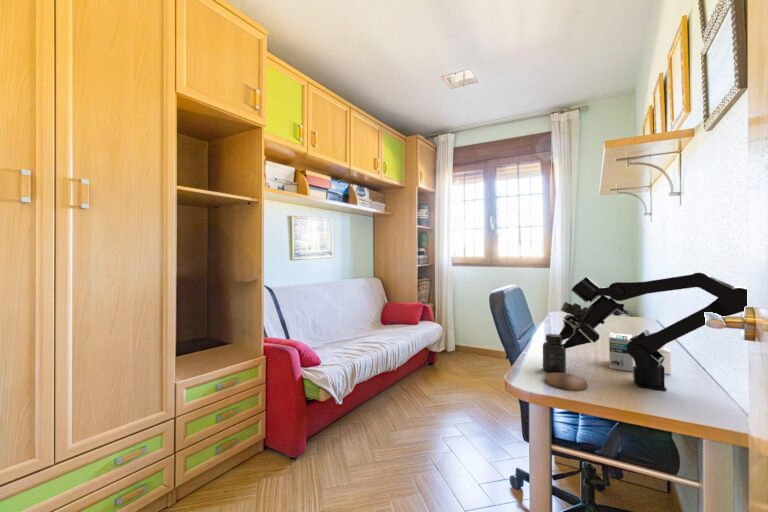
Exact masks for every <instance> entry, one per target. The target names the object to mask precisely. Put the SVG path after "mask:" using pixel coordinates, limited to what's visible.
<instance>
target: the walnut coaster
mask: <svg viewBox="0 0 768 512" xmlns="http://www.w3.org/2000/svg"><path fill="white" fill-rule="evenodd" d="M544 378H545V379H544V380H545V383H546V384H547V385H549V386H551V387H552V388H553V387H554V388H555V389H560V390H564V391H570V392H581V391H582V392H583V391H586V390H587V389H588V381H587V379H585V378H583V377H581V376H579V375H576V374H571V373H546V374H545V376H544Z"/></svg>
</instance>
